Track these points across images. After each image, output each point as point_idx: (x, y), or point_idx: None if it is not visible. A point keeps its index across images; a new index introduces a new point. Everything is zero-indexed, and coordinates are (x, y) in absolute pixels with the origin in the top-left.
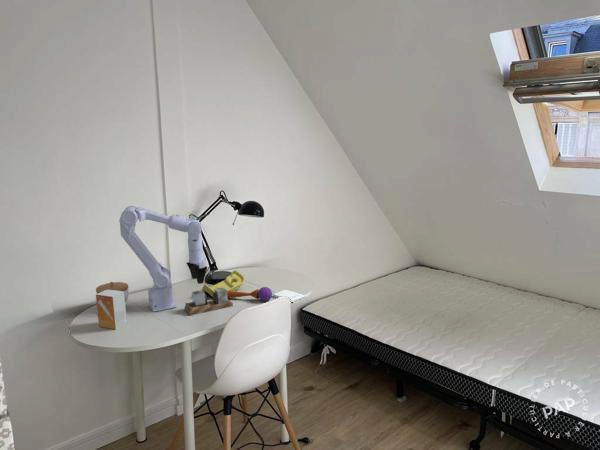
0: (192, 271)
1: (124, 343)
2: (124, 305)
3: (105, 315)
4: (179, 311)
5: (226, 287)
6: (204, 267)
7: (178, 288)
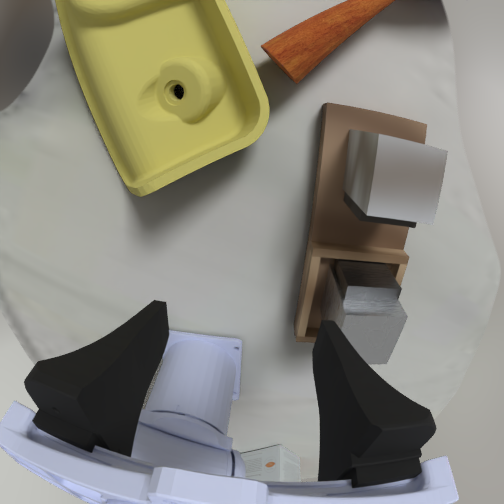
0: (143, 381)
1: None
2: None
3: None
4: (295, 343)
5: (158, 30)
6: (410, 445)
7: (19, 237)
